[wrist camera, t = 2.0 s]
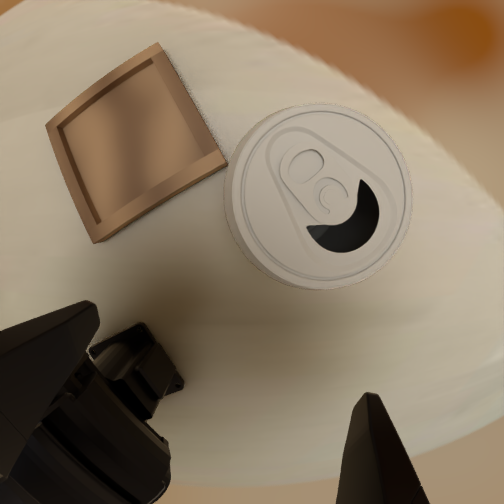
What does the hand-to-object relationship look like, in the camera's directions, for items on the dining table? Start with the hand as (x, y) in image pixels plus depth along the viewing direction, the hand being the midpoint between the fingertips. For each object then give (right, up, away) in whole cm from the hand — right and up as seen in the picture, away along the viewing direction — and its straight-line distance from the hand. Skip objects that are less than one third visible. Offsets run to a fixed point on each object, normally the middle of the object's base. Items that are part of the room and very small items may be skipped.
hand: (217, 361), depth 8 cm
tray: (-8, +11, +11) cm, 18 cm away
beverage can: (+3, +7, +12) cm, 14 cm away
